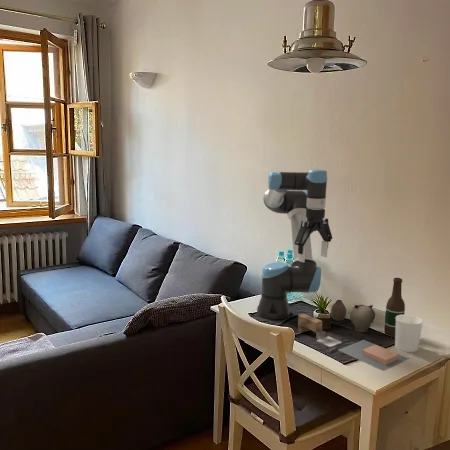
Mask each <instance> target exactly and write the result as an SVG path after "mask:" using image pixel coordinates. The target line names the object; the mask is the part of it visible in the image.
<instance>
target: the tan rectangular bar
mask: <svg viewBox="0 0 450 450" xmlns="http://www.w3.org/2000/svg"><path fill="white" fill-rule="evenodd" d="M399 354H400V353H396V352H395V351H393V350H390V349H387V348H385V347H383V348H382V346H379V345H377V344H375V345H373V346H371V347H368V348H366V349H364V350H362V355H363V356H365V357H368V358H370V359H372V360H374V361H377V362H379V363H381V364H383V365H387V364H389V363H392V362H394V361H396V360H398V358H399Z"/></svg>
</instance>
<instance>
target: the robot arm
mask: <svg viewBox="0 0 450 450" xmlns="http://www.w3.org/2000/svg"><path fill="white" fill-rule="evenodd" d="M267 180H268V181H267V187H268V190H267V191H265V193H264V196H263V203H264V206H265V207H266V208H267V209H268V210H270V211H272V212H273V213H276V214H285V215H287V216H286V217H287V218H288V219H289V220H290V225H291V226H290V227H291V237H292V238H291V239H292V252H293V253H292V254H293V261H292V262H291V263H290V264H291V265H290V266H289V264H288V263H286V262H285V261H284V262H281V261H277V262H270V263H267V264H265V265H264V266H263V267H262V270H261V294H260V295H261V296H260V299H259V303H258V306H257V308H256V313H257V315H258V316H260V317H262V318H264V319H268V320H282V319H286V318H289V317H290V315H291V308H290V304H289V302H288V298H287V297H288V293H303V294H304V293H306V294H307V293H308V294H309V293H317V292H318V291H319V290H320V286H321V280H322V268H321V267H320V266H317V262H316V261H315V260H314V259H313V252H312V251H313V250H312V249H313V248H312V241H311V240H312V239H311V234H312V233H314V232H318V233H319V235H320V237H321V238H322V240H321V248H320V256H321V257H324V258H328V250H329V249H328V248H329V243H331V241H332V240H333V235H332V231H331V229H330V223H329V218H326V210H325V208H326V199H327V184H328V183H327V182H328V171H327V170H326V169H312V168H311V169H309V170H308V171H307V172H303V171H299V172H296V171H294V172H293V171H291V172H290V171H271V172H269V173H268V178H267Z"/></svg>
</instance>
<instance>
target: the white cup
mask: <svg viewBox="0 0 450 450" xmlns="http://www.w3.org/2000/svg"><path fill="white" fill-rule="evenodd" d="M423 322H424V321H423V319H422V318H420V317H418V316H416V315H412V314H404V315H397V316H396V326H395V337H394V346H395V348H396V349H397V350H399V351H403V352H406V353H407V352H408V353H414V352H417V351H418V350H419V345H420V341H421V334H422V333H421V332H422V328H423Z"/></svg>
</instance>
